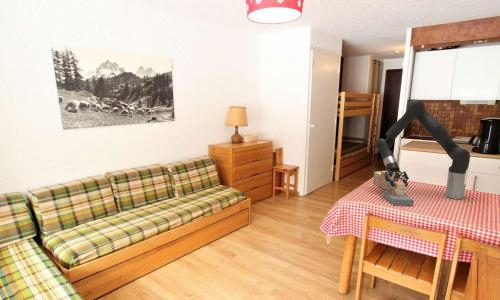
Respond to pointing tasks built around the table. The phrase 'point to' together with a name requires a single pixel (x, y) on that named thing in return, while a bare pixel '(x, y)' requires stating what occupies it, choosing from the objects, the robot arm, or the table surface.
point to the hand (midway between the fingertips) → (400, 186)
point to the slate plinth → (398, 199)
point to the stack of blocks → (383, 180)
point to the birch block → (398, 189)
